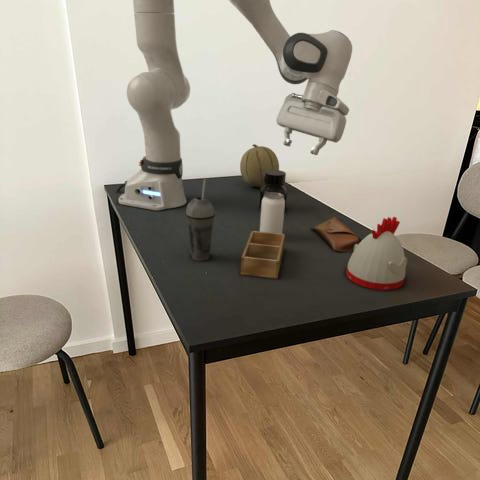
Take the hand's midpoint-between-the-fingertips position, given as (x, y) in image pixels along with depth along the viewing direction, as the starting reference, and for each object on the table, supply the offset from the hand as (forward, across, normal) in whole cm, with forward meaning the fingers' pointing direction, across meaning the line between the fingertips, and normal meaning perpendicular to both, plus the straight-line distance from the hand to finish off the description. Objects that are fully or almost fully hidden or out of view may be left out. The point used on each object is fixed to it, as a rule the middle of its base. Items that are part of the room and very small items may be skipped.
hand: (299, 149), depth 129 cm
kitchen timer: (+23, +37, -6) cm, 44 cm away
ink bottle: (+19, -11, +15) cm, 27 cm away
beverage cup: (+35, -1, -26) cm, 43 cm away
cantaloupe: (+14, -30, +31) cm, 46 cm away
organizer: (+30, +12, -18) cm, 37 cm away
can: (+25, +3, -4) cm, 26 cm away
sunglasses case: (+20, +17, +7) cm, 27 cm away
